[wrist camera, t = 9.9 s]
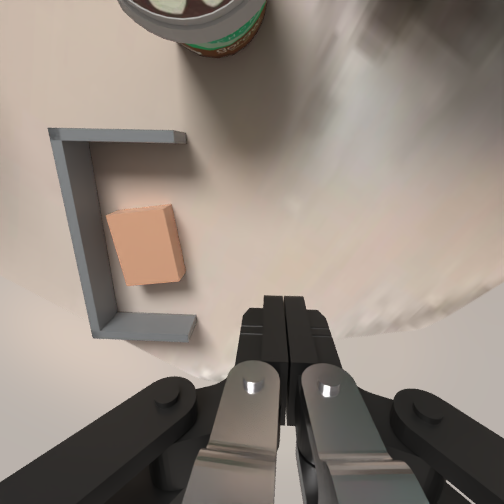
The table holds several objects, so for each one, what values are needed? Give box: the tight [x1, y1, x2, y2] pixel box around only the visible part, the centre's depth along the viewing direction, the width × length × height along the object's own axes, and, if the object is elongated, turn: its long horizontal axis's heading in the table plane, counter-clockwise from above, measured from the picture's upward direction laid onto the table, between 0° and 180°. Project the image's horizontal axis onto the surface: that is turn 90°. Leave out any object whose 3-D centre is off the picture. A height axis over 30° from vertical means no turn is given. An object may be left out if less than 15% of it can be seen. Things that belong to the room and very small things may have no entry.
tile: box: [106, 204, 186, 286], centre depth 31 cm, size 6×8×3 cm
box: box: [48, 128, 196, 342], centre depth 30 cm, size 11×22×4 cm, turn 179°
